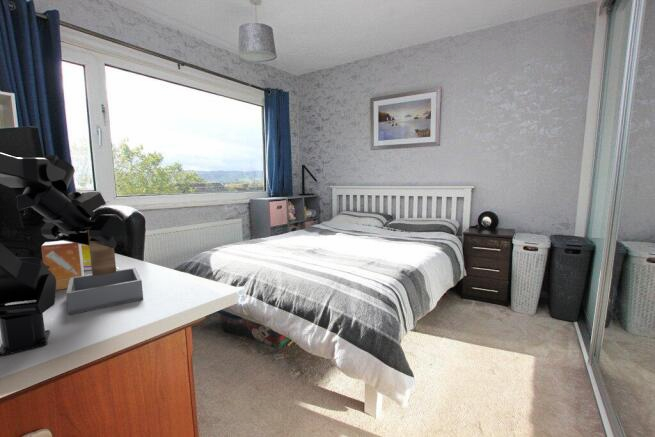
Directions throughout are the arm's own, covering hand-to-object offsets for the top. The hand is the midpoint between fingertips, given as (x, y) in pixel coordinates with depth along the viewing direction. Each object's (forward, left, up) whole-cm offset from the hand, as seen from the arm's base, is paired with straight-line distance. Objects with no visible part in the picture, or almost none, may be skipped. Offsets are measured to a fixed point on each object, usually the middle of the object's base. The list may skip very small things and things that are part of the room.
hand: (106, 246), depth 81 cm
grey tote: (-1, +1, -13) cm, 13 cm away
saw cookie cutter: (+25, -1, -14) cm, 29 cm away
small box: (+18, +10, -14) cm, 25 cm away
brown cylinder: (-1, +1, -7) cm, 7 cm away
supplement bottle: (+37, +4, -13) cm, 40 cm away
